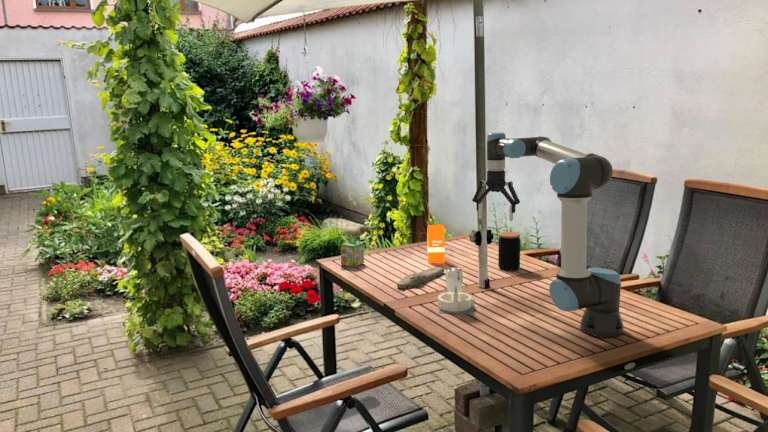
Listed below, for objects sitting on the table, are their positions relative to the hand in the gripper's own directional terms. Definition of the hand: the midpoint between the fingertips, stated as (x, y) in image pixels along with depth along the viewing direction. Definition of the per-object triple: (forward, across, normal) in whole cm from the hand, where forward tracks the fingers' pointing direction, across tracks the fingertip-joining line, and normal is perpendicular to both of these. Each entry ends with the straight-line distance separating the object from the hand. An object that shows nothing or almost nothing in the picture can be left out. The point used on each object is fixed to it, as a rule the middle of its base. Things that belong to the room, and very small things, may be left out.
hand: (495, 219), depth 254 cm
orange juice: (+35, +48, -43) cm, 73 cm away
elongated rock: (+35, +40, -9) cm, 54 cm away
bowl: (+34, +11, +20) cm, 41 cm away
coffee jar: (+35, +8, -45) cm, 57 cm away
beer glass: (+33, +11, +20) cm, 40 cm away
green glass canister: (+35, +86, -20) cm, 95 cm away
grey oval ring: (+35, +10, +20) cm, 41 cm away
